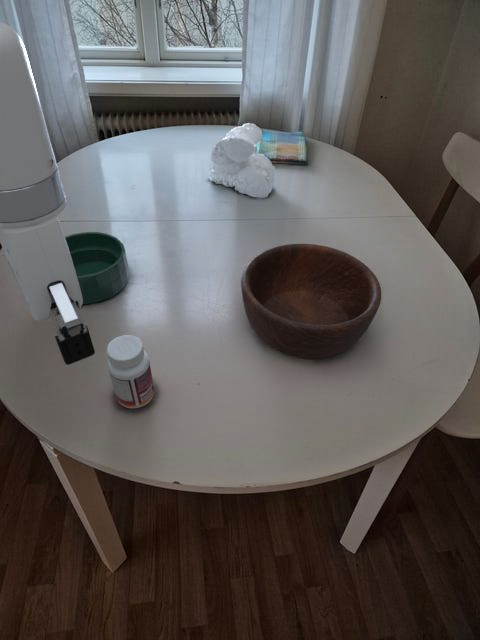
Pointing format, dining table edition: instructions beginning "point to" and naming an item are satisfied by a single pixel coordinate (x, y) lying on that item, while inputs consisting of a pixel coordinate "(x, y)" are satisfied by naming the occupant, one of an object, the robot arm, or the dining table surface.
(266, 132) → the colourful book
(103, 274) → the green faceted bowl
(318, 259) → the wooden bowl
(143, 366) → the pill bottle
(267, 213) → the dining table surface
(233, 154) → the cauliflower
